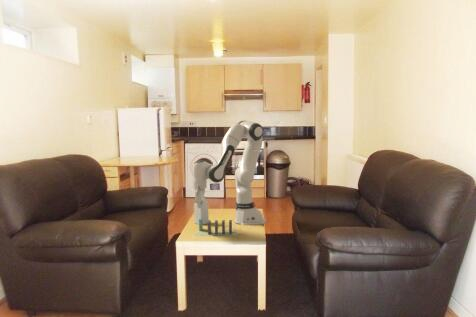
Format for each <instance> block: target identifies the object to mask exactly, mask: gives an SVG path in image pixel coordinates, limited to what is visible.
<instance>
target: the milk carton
mask: <svg viewBox="0 0 476 317" xmlns="http://www.w3.org/2000/svg"><path fill="white" fill-rule="evenodd" d="M193 215H194V217H193V218H194V224H196V225H199V218H202V225H207V224H208V220H209V202H208V200H207V199H206V196H205V195H204V197H203V201H202V205H201V207H200V208H198V205H197V202H195V201H194V202H193Z"/></svg>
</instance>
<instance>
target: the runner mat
mask: <svg viewBox="0 0 476 317" xmlns="http://www.w3.org/2000/svg"><path fill="white" fill-rule="evenodd" d="M195 236H209V235H208V231H196V233H195ZM210 236H216V235H215V231H211V235H210ZM217 236H223V235H222V231H218V235H217ZM224 236H238V232H237V231H232V234H229V231H225V235H224Z"/></svg>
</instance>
